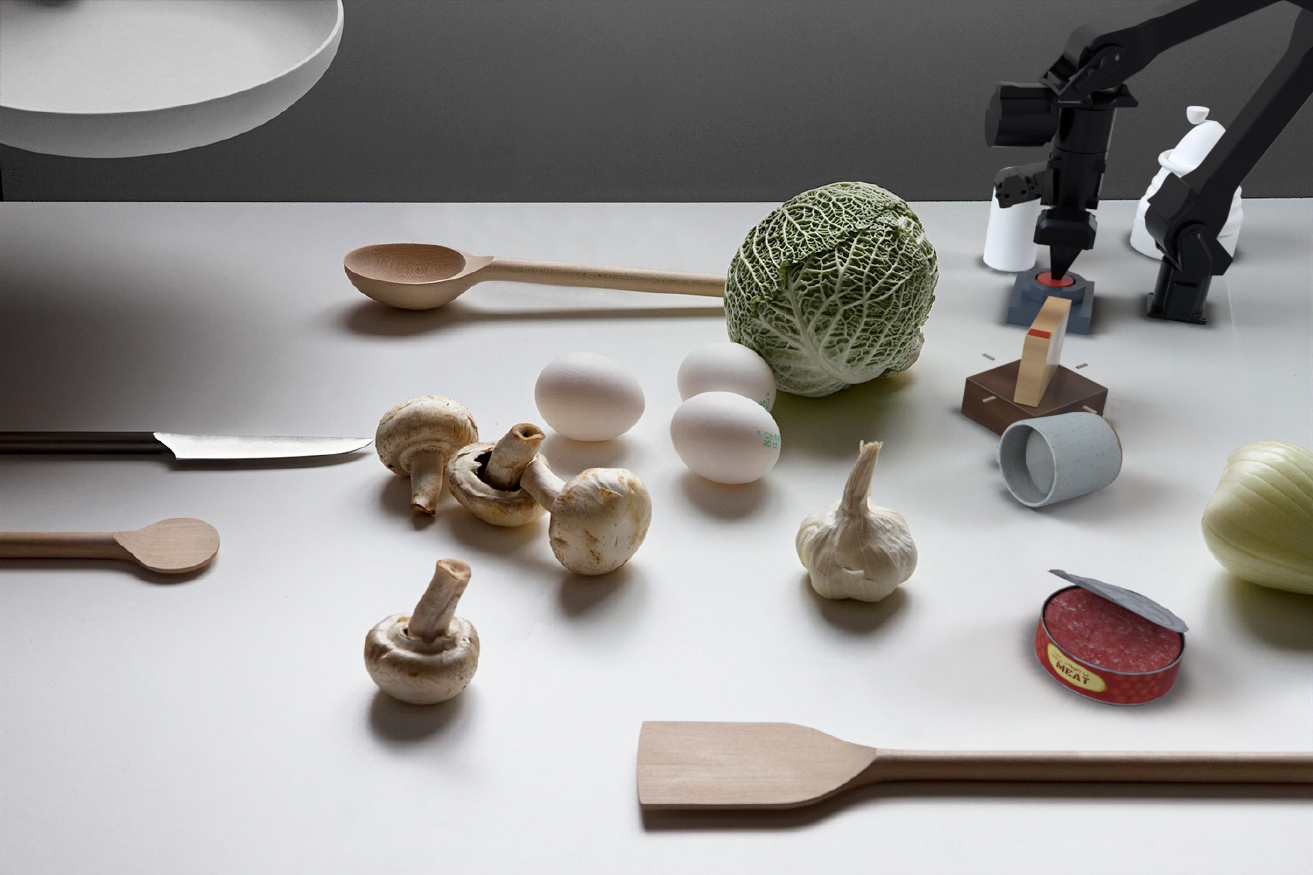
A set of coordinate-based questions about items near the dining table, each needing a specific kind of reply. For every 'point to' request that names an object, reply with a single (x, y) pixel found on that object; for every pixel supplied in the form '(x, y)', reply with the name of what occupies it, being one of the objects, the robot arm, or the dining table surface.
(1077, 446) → the ceramic mug
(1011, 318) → the button block
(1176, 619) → the canned food
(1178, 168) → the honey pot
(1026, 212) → the can
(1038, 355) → the tan wooden flat block
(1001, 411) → the wooden block
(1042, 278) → the button
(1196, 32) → the robot arm
